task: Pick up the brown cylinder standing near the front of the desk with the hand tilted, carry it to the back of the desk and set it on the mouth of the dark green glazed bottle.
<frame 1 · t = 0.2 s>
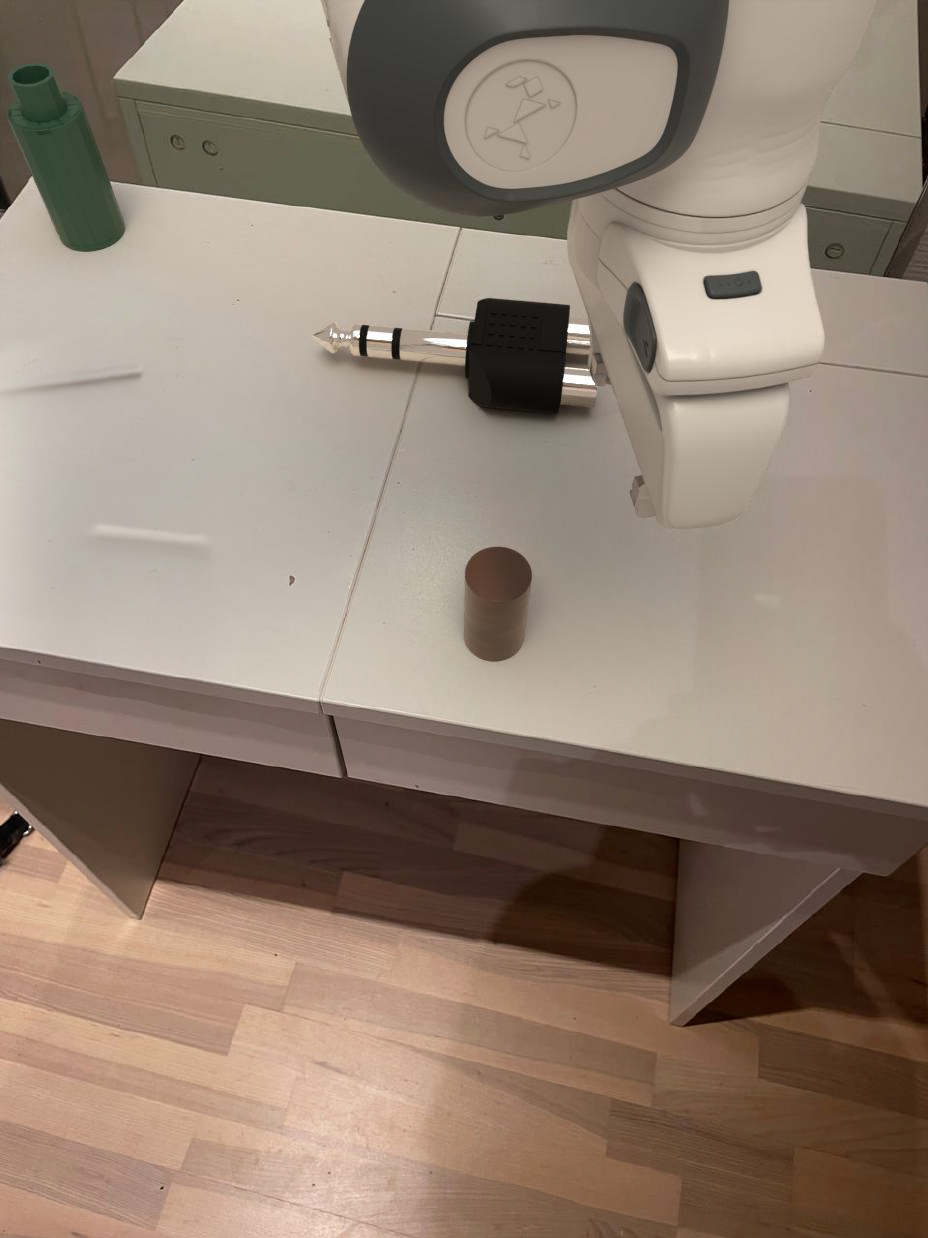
hand: (625, 438, 48), 19 cm above the table, tool pointing down, fingers open, 8 cm apart
audio adapter: (454, 373, 78), on the table
brown cylinder: (493, 635, 64), on the table
bottle: (92, 231, 88), on the table
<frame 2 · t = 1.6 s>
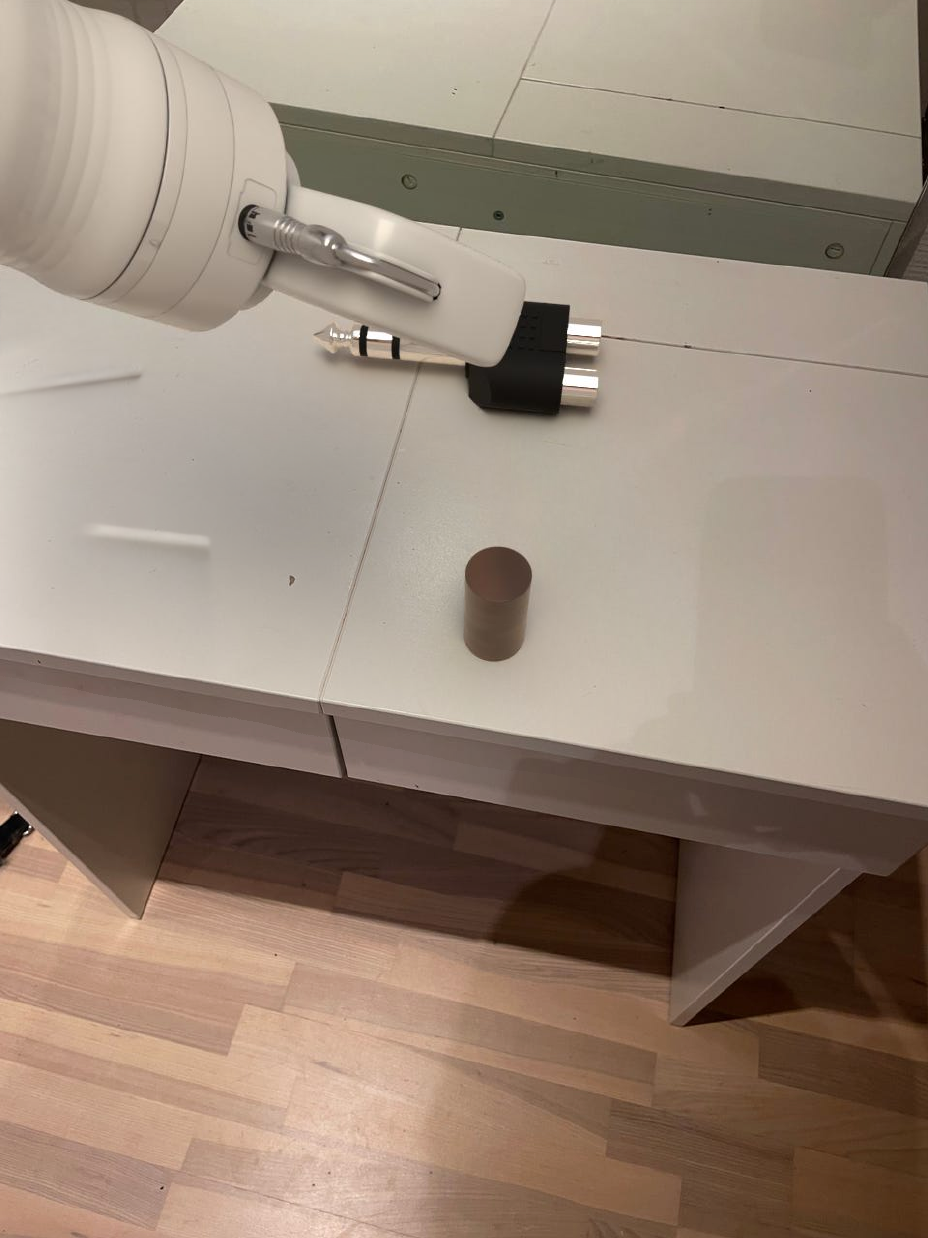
hand: (430, 302, 42), 27 cm above the table, tool tilted 50°, fingers open, 8 cm apart
nothing on the table moved.
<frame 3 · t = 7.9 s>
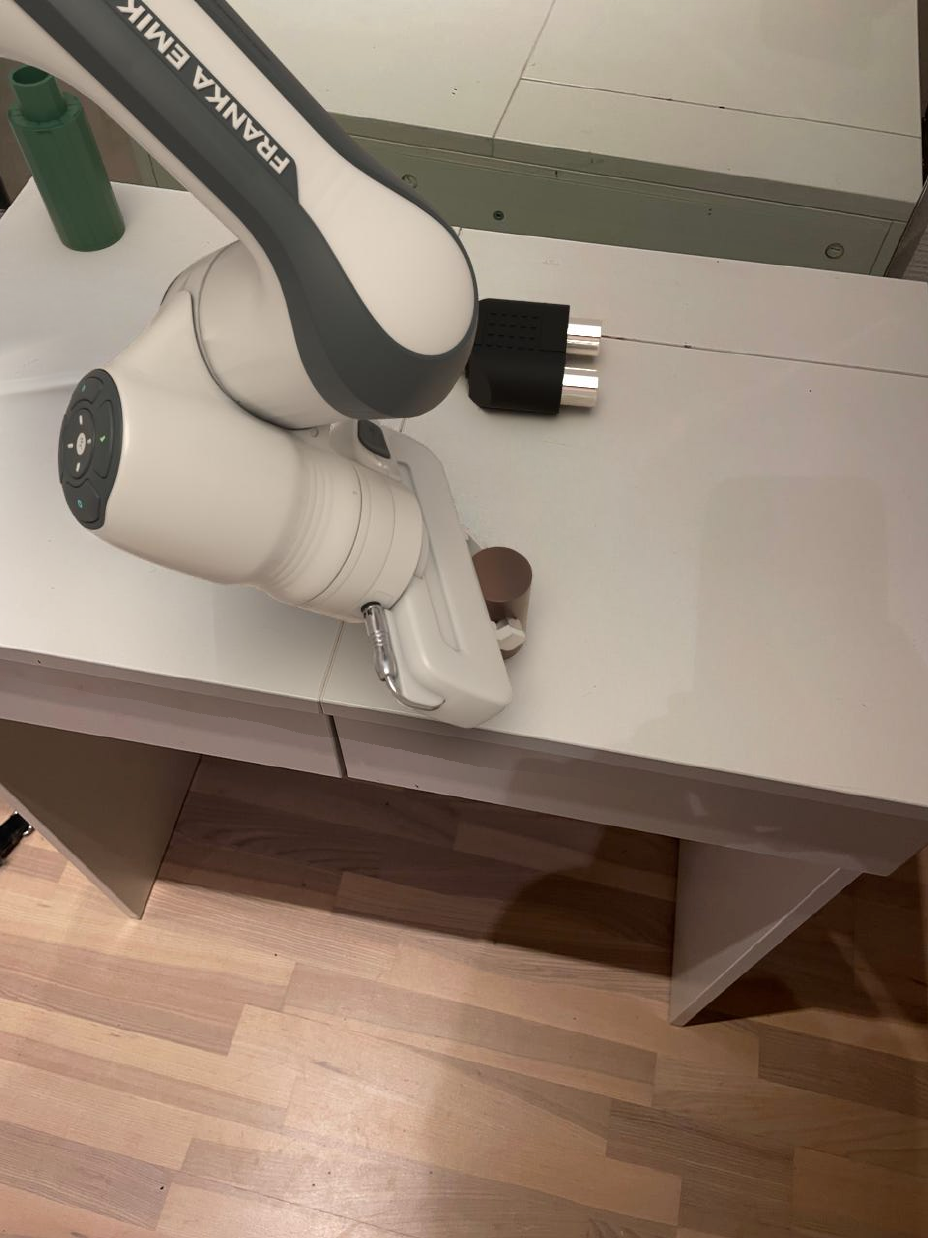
hand: (505, 600, 60), 4 cm above the table, tool tilted 45°, fingers closed on brown cylinder, 4 cm apart
brown cylinder: (493, 635, 64), on the table, touching gripper
everything else where it was.
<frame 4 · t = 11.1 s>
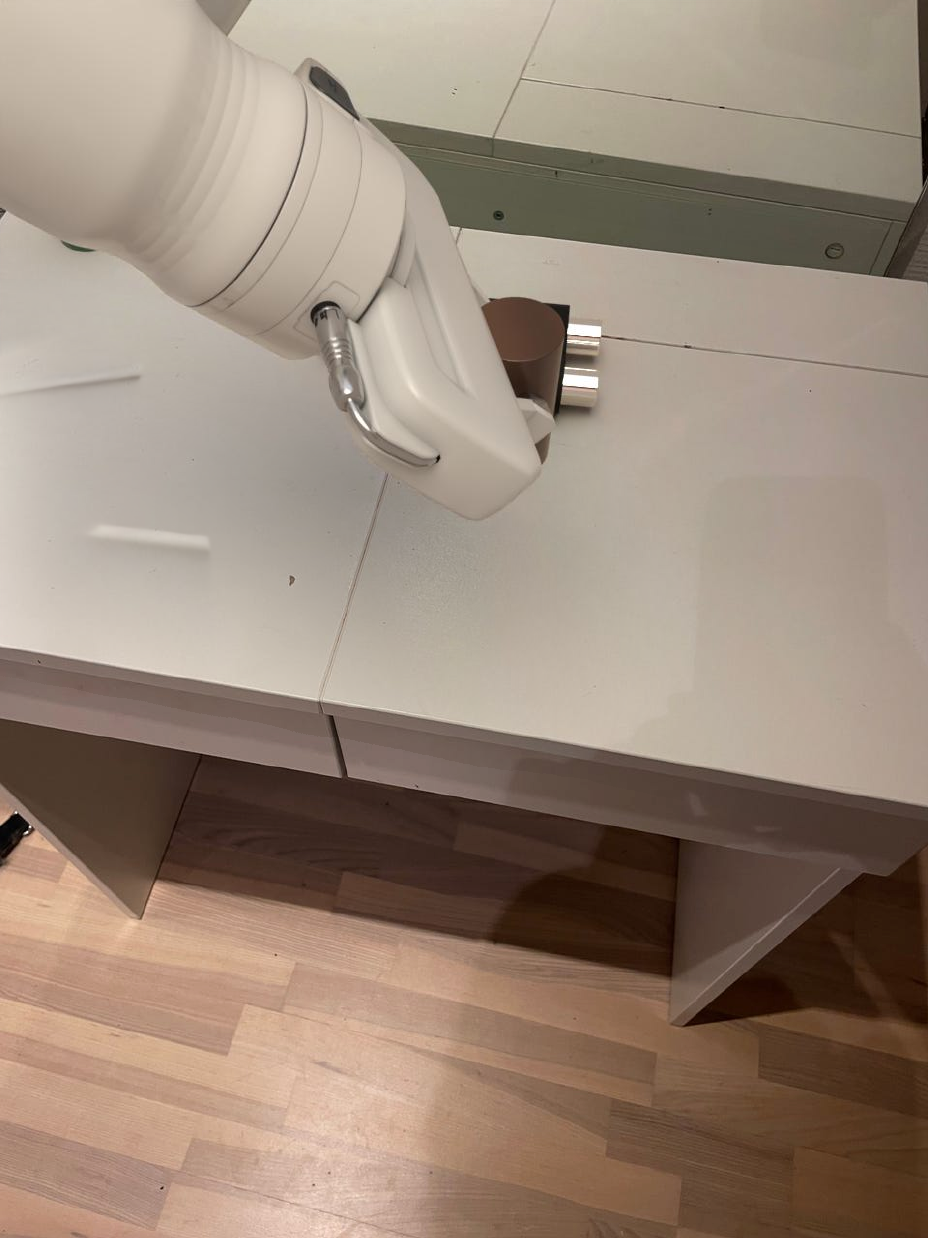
hand: (524, 383, 43), 24 cm above the table, tool tilted 45°, fingers closed on brown cylinder, 4 cm apart
brown cylinder: (507, 447, 47), point 20 cm above the table, touching gripper
everything else where it was.
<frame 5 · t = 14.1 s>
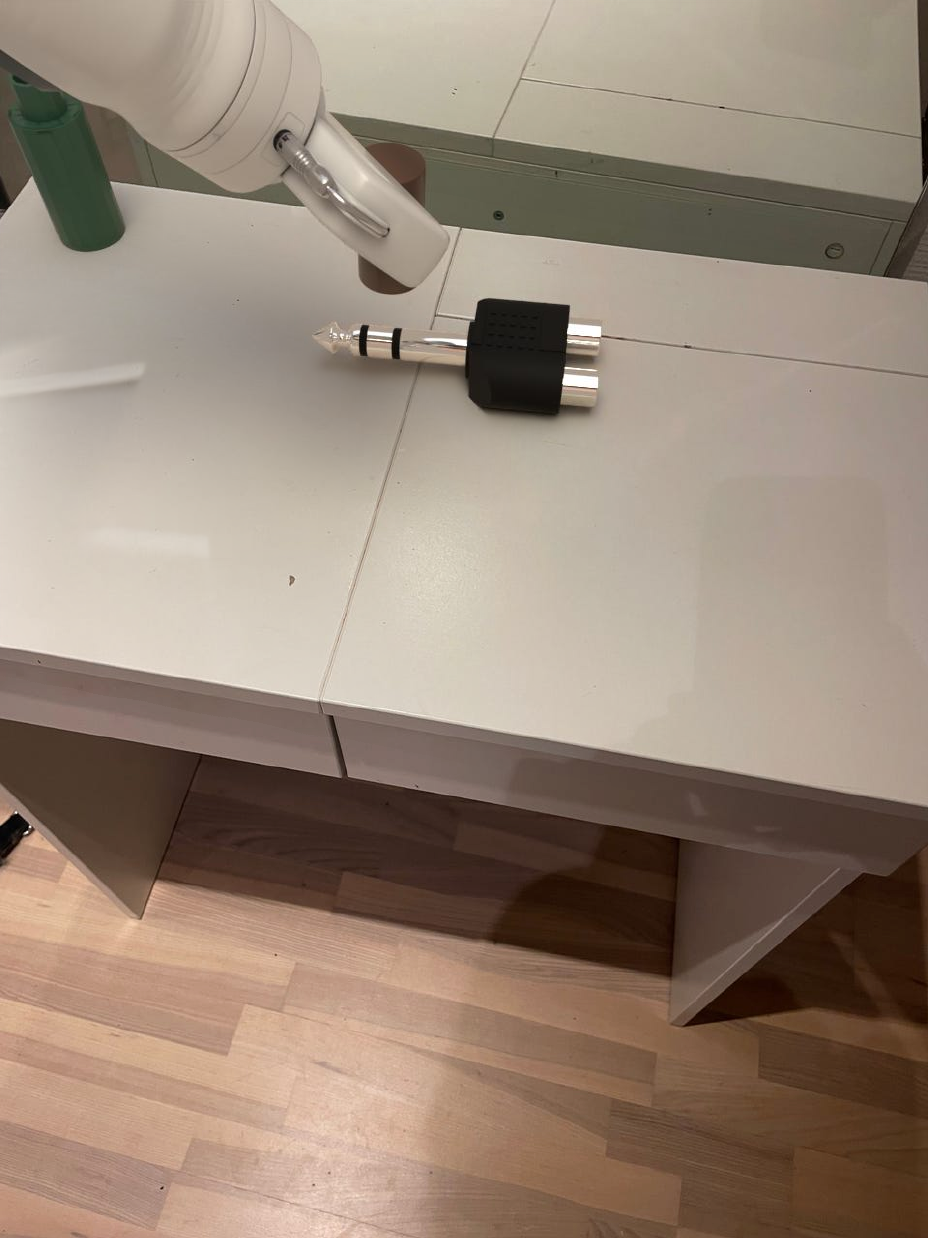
hand: (398, 212, 57), 20 cm above the table, tool tilted 40°, fingers closed on brown cylinder, 4 cm apart
brown cylinder: (390, 274, 60), point 16 cm above the table, touching gripper
everything else where it was.
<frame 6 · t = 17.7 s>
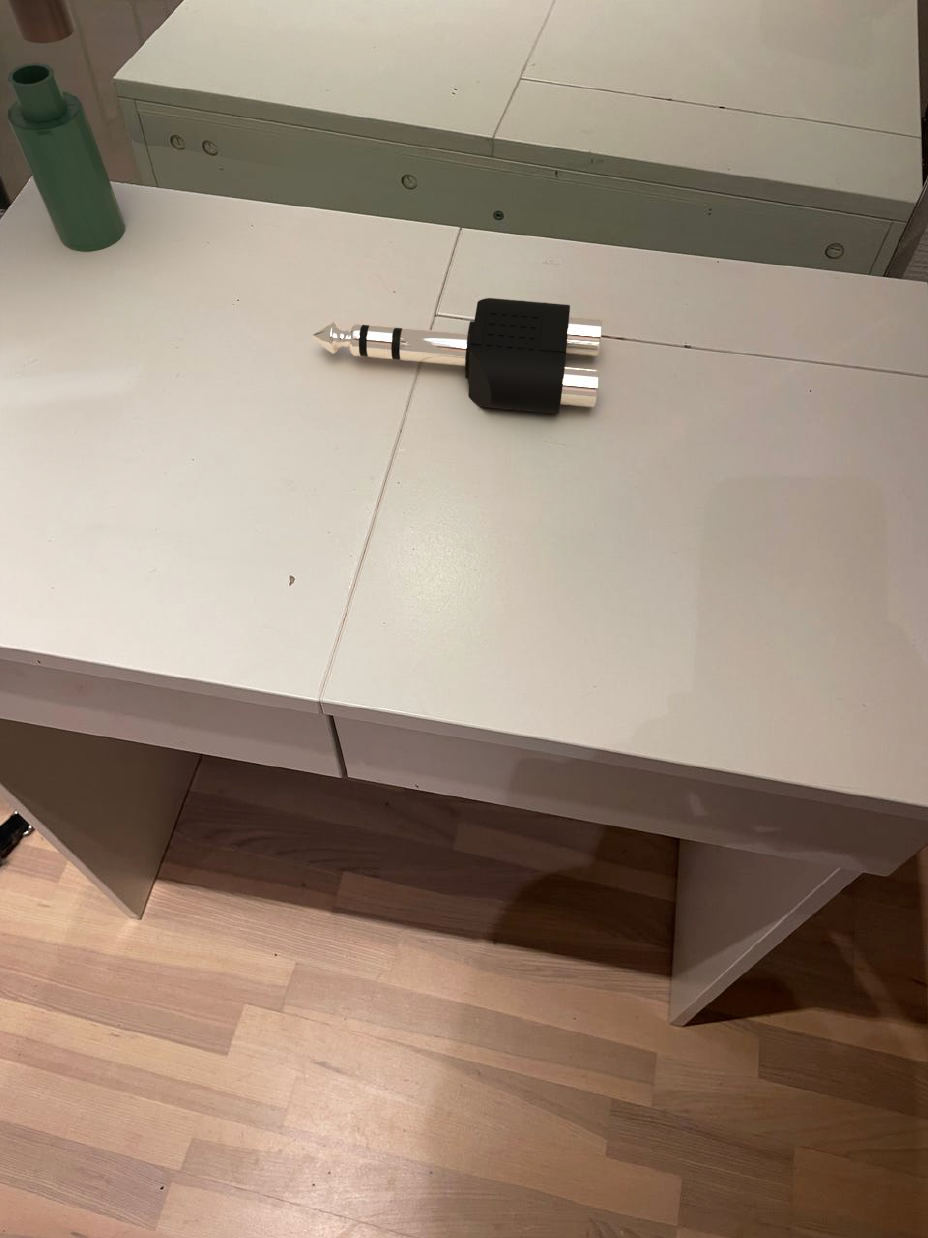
brown cylinder: (47, 29, 71), point 19 cm above the table, touching gripper
everything else where it was.
when the fingers open (19 cm above the table, at t = 20.7 s): brown cylinder stays where it is, resting on bottle.
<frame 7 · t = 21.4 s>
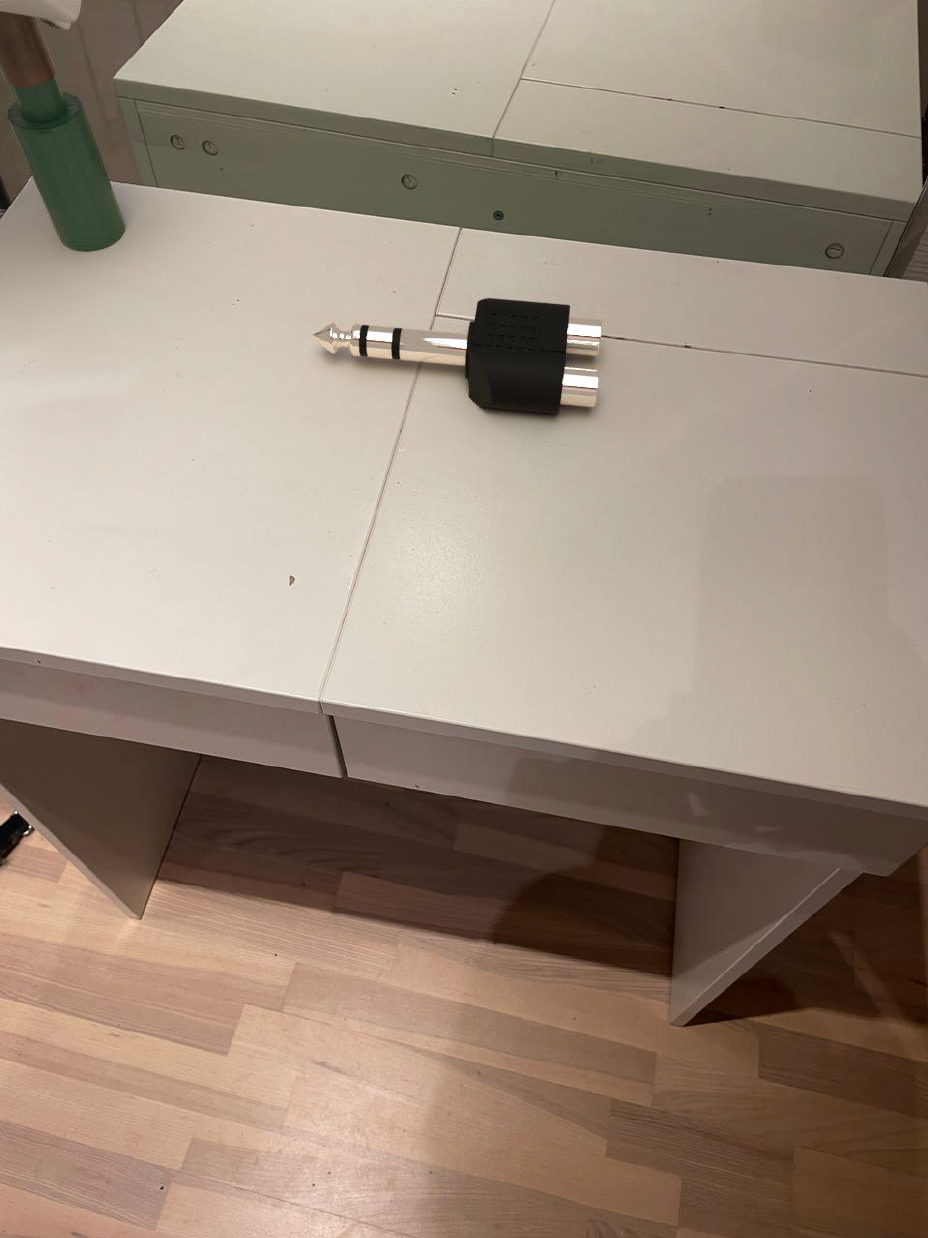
hand: (11, 9, 71), 20 cm above the table, tool tilted 45°, fingers open, 8 cm apart
brown cylinder: (30, 73, 75), point 15 cm above the table, touching bottle
everything else where it was.
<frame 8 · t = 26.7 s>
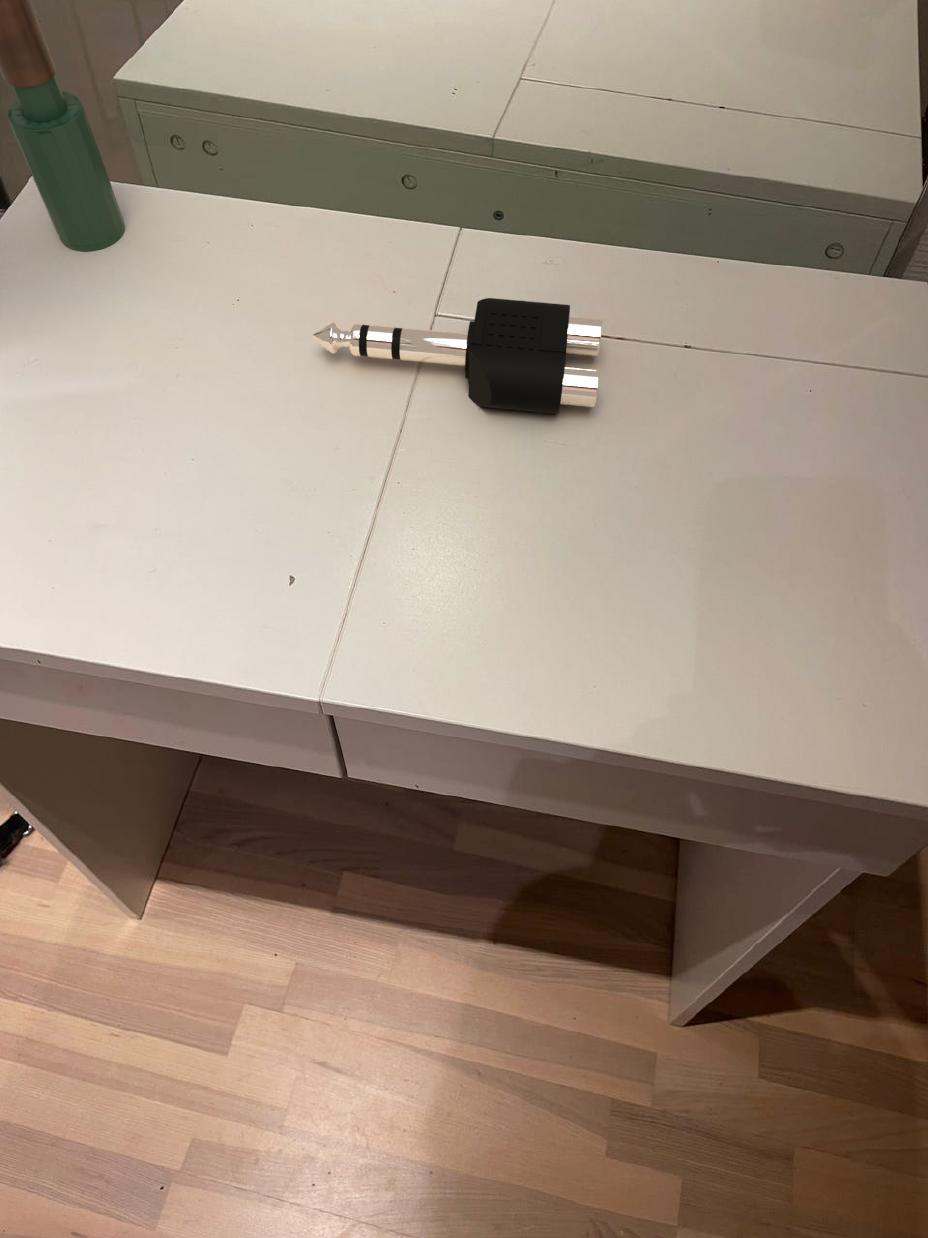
nothing on the table moved.
at the end: brown cylinder 0.1 cm off-centre on the bottle, point 15.0 cm above the bottle's base; brown cylinder tilted 0° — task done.
